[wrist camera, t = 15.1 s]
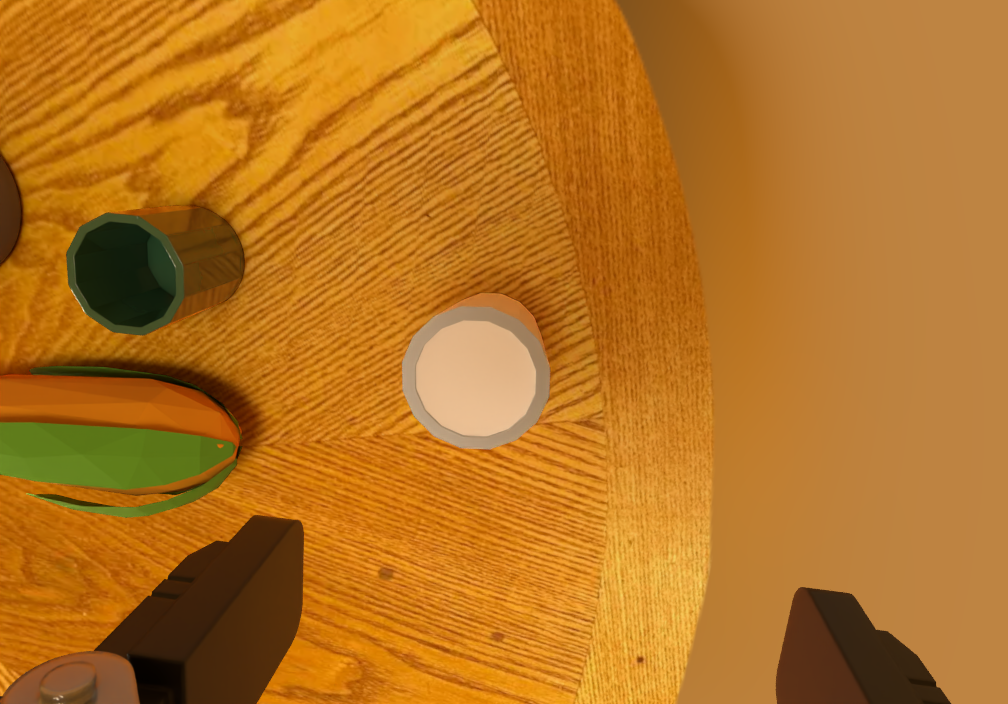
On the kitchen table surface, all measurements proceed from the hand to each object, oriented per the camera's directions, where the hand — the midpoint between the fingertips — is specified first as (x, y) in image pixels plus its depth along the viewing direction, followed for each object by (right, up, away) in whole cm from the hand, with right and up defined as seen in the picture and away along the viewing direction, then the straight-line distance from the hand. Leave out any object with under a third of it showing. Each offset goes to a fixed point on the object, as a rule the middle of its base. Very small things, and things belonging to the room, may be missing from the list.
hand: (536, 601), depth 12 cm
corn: (-24, 0, +31) cm, 39 cm away
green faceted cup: (-17, +9, +28) cm, 34 cm away
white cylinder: (-1, +5, +28) cm, 28 cm away
